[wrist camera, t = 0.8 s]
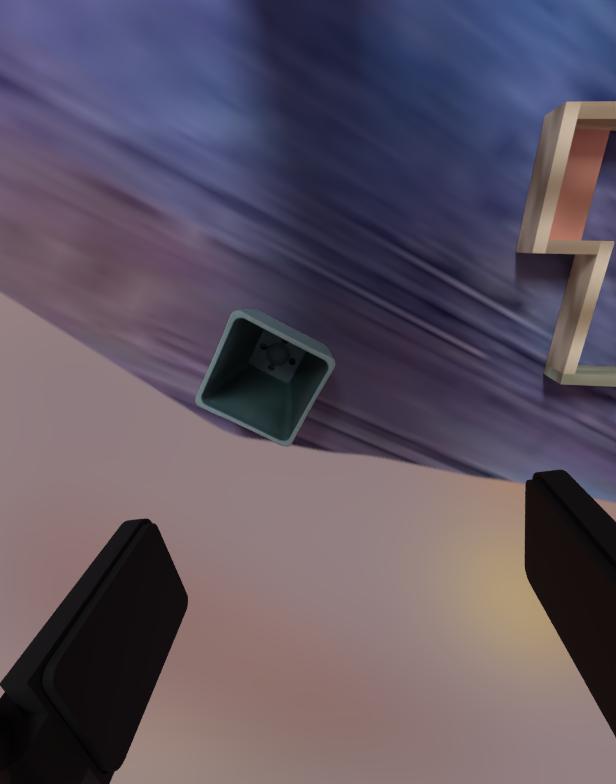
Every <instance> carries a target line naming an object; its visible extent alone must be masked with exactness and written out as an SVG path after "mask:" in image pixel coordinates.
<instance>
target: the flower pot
mask: <svg viewBox="0 0 616 784" xmlns="http://www.w3.org/2000/svg"><path fill="white" fill-rule="evenodd" d="M282 339H284V340H286V341H287V342H286V343H284V342H283V341H282ZM262 344H265V345H266V349H262V348H261V345H262ZM291 359H294V360H295V363H293V364H292V363H290V360H291ZM335 364H336V363H335V361H334V358H333V356H332V354H331V352H330V350H329V349H328V347H327V346H326V345H324V344H323V343H321V342H319V341H317V340H315V339H313V338H311V337H309V336H307V335H305V334H303V333H301V332H299V331H297V330H295V329H294V328H292V327H290V326H288V325H286V324H284V323H282V322H280V321H278V320H276V319H274V318H272V317H271V316H269V315H267V314H265V313H263V312H261V311H259V310H257V309H253V308H251V309H242V310H235V311H234V312H233V313H232V314H231V316H230V318H229V320H228V323H227V325H226V328H225V330H224V333H223V336H222V338H221V340H220V343H219V345H218V348H217V350H216V352H215V355H214V357H213V360H212V362H211V364H210V366H209V369H208V371H207V373H206V375H205V378H204V380H203V382H202V385H201V387H200V389H199V391H198V393H197V396H196V404H197V405H198V406H200V407H202V408H204V409H206V410H208V411H210V412H212V413H215V414H217V415H219V416H221V417H224V418H225V419H228V420H230V421H232V422H234V423H236V424H239V425H240V426H243V427H245V428H247V429H249V430H251V431H253V432H255V433H257V434H260V435H261V436H263V437H266V438H268V439H270V440H272V441H273V442H275V443H277V444H279V445H282V446H290V445H291V444H292V442H293V440H294V439H295V437H296V435H297V433H298V431H299V429H300V427H301V426H302V424H303V422H304V420H305V418H306V416H307V415H308V413H309V411H310V409H311V408H312V406H313V404H314V402H315V400H316V399H317V397H318V395H319V393H320V392H321V390H322V388H323V387H324V385H325V383H326V381H327V380H328V378H329V377H330V375H331V373H332V372H333V370H334V368H335ZM270 365H273V366H274V369H273V370H271V369H270V368H269V366H270Z"/></svg>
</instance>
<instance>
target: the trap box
mask: <svg viewBox="0 0 616 784" xmlns="http://www.w3.org/2000/svg"><path fill="white" fill-rule="evenodd" d="M610 131H616V102H565V103H564V104H562V105H561V106H559V107H557V108H556V109H554V110H553V111H551V112H549V113H548V114H546V115H545V116H544V121H543V126H542V131H541V135H540V140H539V145H538V150H537V154H536V159H535V164H534V169H533V173H532V178H531V183H530V188H529V192H528V197H527V202H526V207H525V211H524V216H523V221H522V226H521V230H520V235H519V240H518V245H517V249H516V253H546V254H575V257H574V260H573V264H572V268H571V272H570V275H569V279H568V283H567V287H566V290H565V294H564V298H563V302H562V305H561V309H560V313H559V317H558V320H557V324H556V328H555V332H554V335H553V339H552V343H551V347H550V350H549V354H548V358H547V362H546V366H545V369H544V373H543V374H545V375H546V376H548V377H549V378H551V379H553V380H554V381H556V382H557V383H559V384H565V385H588V386H611V387H616V367H612V366H587V365H578V362H579V359H580V356H581V352H582V349H583V346H584V342H585V339H586V336H587V332H588V329H589V326H590V322H591V319H592V316H593V312H594V309H595V306H596V302H597V299H598V295H599V292H600V289H601V285H602V282H603V279H604V275H605V272H606V269H607V265H608V262H609V259H610V255H611V252H612V249H613V245H614V242H615V241H581V238H582V234H583V231H584V227H585V223H586V219H587V216H588V212H589V208H590V205H591V201H592V197H593V193H594V190H595V186H596V182H597V178H598V175H599V171H600V167H601V164H602V160H603V156H604V152H605V149H606V145H607V141H608V137H609V134H610Z"/></svg>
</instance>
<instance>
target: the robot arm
mask: <svg viewBox="0 0 616 784" xmlns="http://www.w3.org/2000/svg"><path fill="white" fill-rule="evenodd" d="M525 571H526V575H527V578H528V580H529V582H530V584H531V586H532V588H533V590H534V592H535V593H536V595H537V597H538V599H539V600H540V602H541V604H542V606H543V607H544V609H545V611H546V613H547V615H548V617H549V619H550V620H551V622H552V624H553V626H554V627H555V629H556V631H557V633H558V635H559V636H560V638H561V640H562V642H563V643H564V645H565V647H566V649H567V651H568V653H569V654H570V656H571V658H572V660H573V662H574V663H575V665H576V667H577V669H578V671H579V672H580V674H581V676H582V678H583V679H584V681H585V683H586V685H587V686H588V688H589V690H590V692H591V694H592V696H593V697H594V699H595V701H596V703H597V705H598V706H599V708H600V710H601V712H602V713H603V715H604V717H605V719H606V721H607V722H608V724H609V726H610V728H611V730H612V731H613V733H614V735H615V737H616V522H615V521H614V520H613V519H612V518H611V517H610V516H609V515H608V514H607V513H606V512H605V511H604V510H603V509H602V507H601V506H600V505H599V504H598V503H597V502H596V501H595V500H594V499H593V498H592V497H591V496H590V495H589V494H588V493H587V492H586V491H585V490H584V489H583V488H582V487H581V486H580V485H579V484H578V483H577V482H576V481H575V480H574V479H573V478H572V477H571V476H570V475H569V474H568V473H567V472H566V471H564V470H553V471H545V472H536V473H534V475H533V479H532V480H527V481H526V492H525ZM187 605H188V596H187V594H186V591H185V589H184V586H183V584H182V582H181V579H180V577H179V575H178V573H177V570H176V568H175V566H174V563H173V561H172V559H171V556H170V554H169V552H168V550H167V547H166V545H165V543H164V540H163V538H162V536H161V533H160V531H159V529H158V527H157V525H156V524H153V523H152V522H151V521H150V520H149V519H137V520H129V521H125V522H124V523H123V524H122V525H121V526H120V527H119V529H118V530H117V531H116V532H115V534H114V535H113V536H112V538H111V539H110V540H109V541H108V543H107V544H106V545H105V547H104V548H103V549H102V551H101V552H100V553H99V554H98V556H97V557H96V558H95V560H94V561H93V562H92V564H91V565H90V566H89V568H88V569H87V570H86V571H85V573H84V574H83V575H82V577H81V578H80V579H79V581H78V582H77V584H76V585H75V586H74V587H73V588H72V590H71V591H70V592H69V594H68V595H67V596H66V598H65V599H64V600H63V602H62V603H61V604H60V605H59V607H58V608H57V609H56V611H55V612H54V613H53V615H52V616H51V617H50V619H49V620H48V621H47V623H46V624H45V625H44V626H43V628H42V629H41V630H40V632H39V633H38V634H37V636H36V637H35V638H34V640H33V641H32V642H31V643H30V645H29V646H28V647H27V649H26V650H25V651H24V653H23V654H22V655H21V657H20V658H19V659H18V660H17V662H16V663H15V664H14V666H13V667H12V668H11V670H10V671H9V672H8V674H7V675H6V676H5V677H4V679H3V680H2V681H1V683H0V686H1V687H2V688H3V690H4V691H5V693H4V694H3V695H2V697H1V698H0V784H109V783H110V781H111V779H112V776H113V774H114V771H117V770H118V769H119V768H120V767H121V765H122V764H123V762H124V760H125V758H126V755H127V753H128V750H129V747H130V746H131V743H132V741H133V738H134V736H135V733H136V731H137V729H138V726H139V724H140V721H141V719H142V716H143V714H144V711H145V709H146V706H147V704H148V702H149V699H150V697H151V695H152V692H153V690H154V687H155V685H156V682H157V680H158V677H159V675H160V673H161V670H162V668H163V665H164V663H165V661H166V658H167V656H168V653H169V651H170V649H171V646H172V644H173V641H174V639H175V636H176V634H177V631H178V629H179V627H180V624H181V622H182V619H183V617H184V614H185V612H186V609H187Z"/></svg>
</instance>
